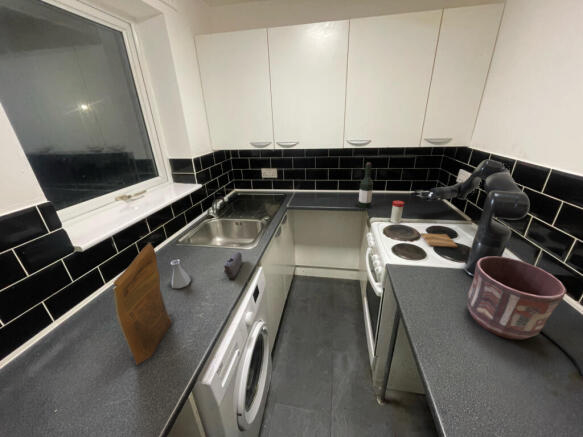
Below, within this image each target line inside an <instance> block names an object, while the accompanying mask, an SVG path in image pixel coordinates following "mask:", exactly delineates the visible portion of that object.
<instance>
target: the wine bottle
mask: <svg viewBox="0 0 583 437" xmlns="http://www.w3.org/2000/svg"><path fill="white" fill-rule="evenodd" d="M371 172H372V163H371V162H366V164H365V168H364V177H363V178H362V180H361V181H360V183H359V193H358V204H357V205H358V208H360V209H365V210H367V209H370V208H371V206H372V196H373V188H374V182H373V180H372V178H371Z"/></svg>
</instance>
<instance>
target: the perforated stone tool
mask: <svg viewBox="0 0 583 437" xmlns="http://www.w3.org/2000/svg"><path fill="white" fill-rule="evenodd" d="M242 262H243V256H242V253H241V252H240V251H237V252H235V253H233V254H232V255H231V256H230V257H229V258H228V259H227V260H226V261H225V263H224V264H223V267H224V270H223V272H224V274H225V276H226V277H227V278H231V279H234V278H236V276H237V275H238V273H239V270H240V268H241V265H242Z"/></svg>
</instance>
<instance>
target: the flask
mask: <svg viewBox="0 0 583 437" xmlns="http://www.w3.org/2000/svg"><path fill="white" fill-rule="evenodd" d="M170 265H171V266H172V278H171V284H170V285H171V288H172V289H182V288H184V287H187V286H189V284H190V283H191V281H192V279H191V277H190V276H189V274H188V273H187V272H186V271H185V270H184V268H182V266H181V261H180V259H174V260H172V261H171V262H170Z"/></svg>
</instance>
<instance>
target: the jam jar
mask: <svg viewBox="0 0 583 437" xmlns="http://www.w3.org/2000/svg"><path fill="white" fill-rule="evenodd" d="M403 210H404V206H403V207H396V206H393V205H392V206H391V214H390V219H389V221H390V222H391V223H393V224H400V223H401V222H402V217H403V216H402V215H403Z"/></svg>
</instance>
